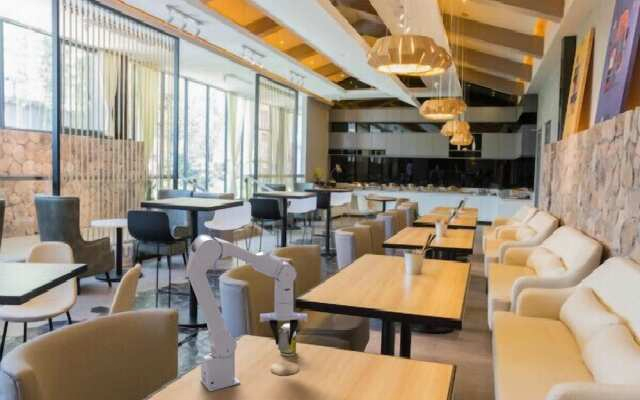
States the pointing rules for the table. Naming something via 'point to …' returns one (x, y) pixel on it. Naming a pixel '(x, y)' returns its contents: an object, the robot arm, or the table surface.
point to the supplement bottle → (293, 344)
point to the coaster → (284, 368)
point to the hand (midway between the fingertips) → (283, 343)
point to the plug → (283, 339)
